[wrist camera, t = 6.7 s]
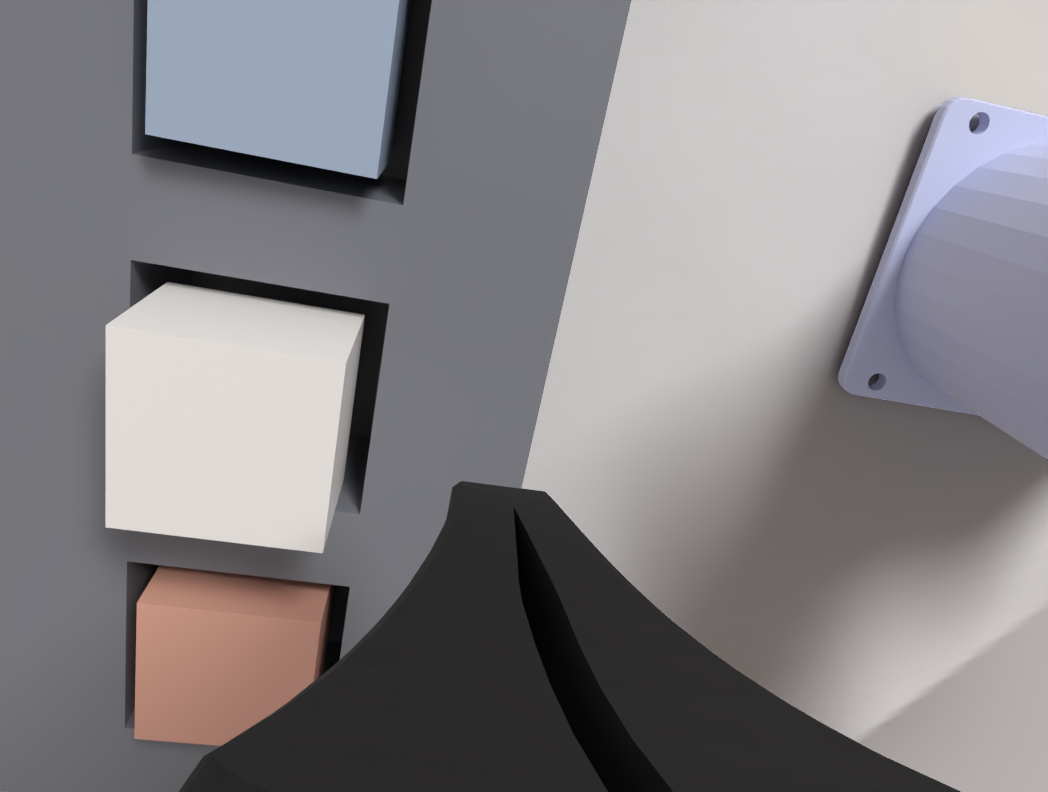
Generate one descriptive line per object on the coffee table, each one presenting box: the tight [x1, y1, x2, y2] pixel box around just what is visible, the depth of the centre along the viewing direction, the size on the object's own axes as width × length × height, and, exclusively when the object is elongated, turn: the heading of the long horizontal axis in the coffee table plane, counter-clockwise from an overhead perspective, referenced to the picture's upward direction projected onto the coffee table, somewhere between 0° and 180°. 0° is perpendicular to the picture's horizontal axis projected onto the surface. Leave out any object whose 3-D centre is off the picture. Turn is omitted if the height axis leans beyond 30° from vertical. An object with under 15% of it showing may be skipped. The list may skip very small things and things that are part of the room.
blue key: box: [145, 0, 411, 179], centre depth 14 cm, size 4×4×3 cm
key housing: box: [0, 0, 631, 792], centre depth 18 cm, size 12×24×4 cm, turn 169°
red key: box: [134, 565, 335, 746], centre depth 19 cm, size 4×4×3 cm
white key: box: [105, 282, 365, 553], centre depth 15 cm, size 4×4×3 cm
